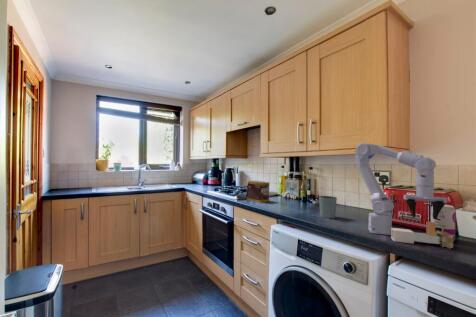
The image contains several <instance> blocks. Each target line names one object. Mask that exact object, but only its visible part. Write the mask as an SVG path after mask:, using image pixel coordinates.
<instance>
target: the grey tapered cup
mask: <svg viewBox="0 0 476 317" xmlns="http://www.w3.org/2000/svg"><path fill="white" fill-rule="evenodd" d="M337 200H338V197H337V196H332V195H331V196H330V195H319V196H318V202H319V203H318V204H319V216H320V218H324V219H330V218H332V219H336V211H337Z"/></svg>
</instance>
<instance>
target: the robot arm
mask: <svg viewBox="0 0 476 317" xmlns="http://www.w3.org/2000/svg"><path fill="white" fill-rule="evenodd" d="M354 152H355V164H356V166H357V169H358V172H359V173H360V175H361V177H362V179H363V181H364V183H365V185H366V187H367V190H368V192H369V193H370V195H371V198H370V202H371V208H372V210H373V212H369V213H368V228H367V229H368V231H369V232H370V233H371V234H379V235H387V236H388V235H389V236H391V228H393V227H392V225H393V223H392V222H393V213H392V211H393V210H394V209H395V204H394V202H393V201H392V200H391V198H389V197H388V195H387V194H385V193H384V191H383V189H382V188H381V185H380V183H379V181H378V179H377V177H376V175H375V173H374V171H373V170H372V167H371V165H370V164H369V163H370V162H371V159H372V158H373V157H374V156H375V155H380V154H381V155H384V156H388V157H390V158H393V159H396V160H397V161H398V163H400V164H402V165H405V166H407V167H411V168H414V169H415V168H416V185H415V186H416V187H415V188H416V191H415V194H403V200H405V202H406V204H407V205H408V207H409V211H410V217H412V218H416V208H417V207H416V206H417V202H416V201H423V202H431V204H432V206H433V219H437V217H438V215H439V212H440V211H441V209H442V208H443V207H444V205H446V203H447V202H448V201H447V200H448V199H447V197H444V196H434V184H435V183H434V182H435V176H434V174H435V172H434V170H435V168H436V167H437V164H436V163H437V162H436V161H435V160H434V159H433V158H431V157H424V155H423V154H420V155H419V154H417V153H413V152H412V151H411V150H402V151H400V152H399V151H397V150H395V149H391V148H390V147H386V146H383V145H379V144H373V143H366V142H361V143H359V144H357V146H356V148H355V150H354Z"/></svg>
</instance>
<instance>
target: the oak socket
mask: <svg viewBox="0 0 476 317" xmlns="http://www.w3.org/2000/svg"><path fill="white" fill-rule="evenodd" d="M436 235H441V236H442V244H439V246H440V247H441V246H442V247H441V248H443V247H447V248H446V249H451V248H453V249H454V240H453V236H452V235H450V234H448V233H447V232H442V231H436Z"/></svg>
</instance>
